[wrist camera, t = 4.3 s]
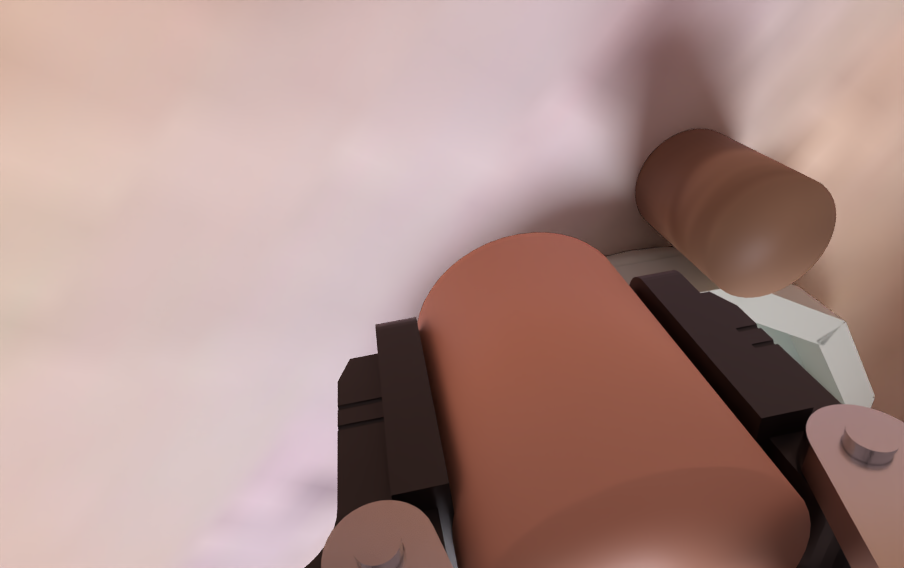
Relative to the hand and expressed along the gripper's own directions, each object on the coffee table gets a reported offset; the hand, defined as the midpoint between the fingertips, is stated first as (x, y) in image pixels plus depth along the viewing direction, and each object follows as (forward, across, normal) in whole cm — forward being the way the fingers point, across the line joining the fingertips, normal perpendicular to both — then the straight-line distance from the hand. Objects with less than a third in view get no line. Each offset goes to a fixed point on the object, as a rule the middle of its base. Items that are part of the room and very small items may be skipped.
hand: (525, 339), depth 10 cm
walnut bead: (+10, -9, +3) cm, 14 cm away
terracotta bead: (0, 0, 0) cm, 0 cm away
